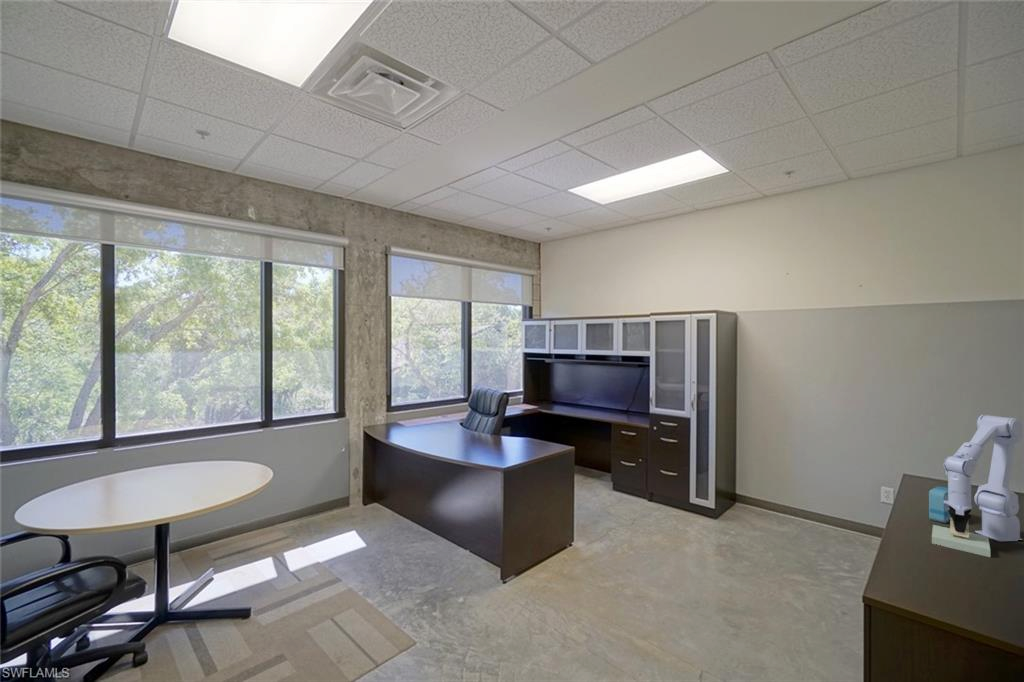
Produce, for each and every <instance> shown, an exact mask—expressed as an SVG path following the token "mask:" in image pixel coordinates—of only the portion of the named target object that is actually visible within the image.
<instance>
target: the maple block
mask: <svg viewBox="0 0 1024 682" xmlns="http://www.w3.org/2000/svg"><path fill="white" fill-rule="evenodd" d="M949 524H950V525H949V528H950V534H953V535H958V536H962V537H967V538H969V533H970V531H969V527H970V526H969V524H970V523H969V521H968V522H967V525H966V529H965V532H964V533H962V532H957V531H956V530H955V527H954V523H953V519H952V518H950V521H949Z"/></svg>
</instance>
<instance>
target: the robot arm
mask: <svg viewBox="0 0 1024 682" xmlns="http://www.w3.org/2000/svg"><path fill="white" fill-rule="evenodd" d="M976 427H977V430H976V431H975V433H974V434H973V436H972V438H971V439H970V441H968V442H967V441H966V442H963V443H962V445H960V447H959V448H958V449H957V451H956V452H955V453H954V454H952V455H950V456H947V457H945V459H944V462H943V464H942V465H943V468H944V470H945V475H946V477H947V488H948V501H946V500H944V503H945V504H948V505H949V508H950V510H949V509H948V512H949V514H950V515H951V517H952V519H953V523H954V527H955V530H956V531H957V532H962V533H964V532H965V529H966V525H967V522H968V523H969V520H970V519H971V518H972V514H970V513H971V512H972V509H973V505H972V476H973V475H974V474H975V473H976V471H977V469H976V468H977V466H978V464H977V462H979V460H980V459H981V458H982V456H983V455H984V454H985V450H984V448H985V447H986V445H988V443H989V442H991V441H993V443H994V444H993V450H992V454H991V455H992V456H991V462H990V469H989V473H988V480H987V483H985V484H981V485H979V486H978V487H977V490H976V493H975V495H974V496H973V498H974V499H973V500H974V503H975V505H976V506H977V507H978V509H979V510H980V511H981V530H974V533H975V534H979V535H984V536H988V539H992V540H995V541H997V542H1019V541H1018V540H1023V541H1024V539H1023V538H1021V522H1020V519H1019V517H1017V516H1016V514H1018V513H1019V510H1020V505H1019V495H1017V493H1015V492H1014V491H1013V490H1012V489H1011V488H1009V485H1010V478H1011V471H1012V464H1013V460H1014V454H1015V447H1016V443H1020V442H1021V440H1022V436H1023V429H1024V427H1023V424H1022V422H1021V421H1020V420H1019V419H1018V418H1016V417H1005V416H997V415H988V414H981V415H980V416H979V417H978V418H977V421H976Z"/></svg>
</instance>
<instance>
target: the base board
mask: <svg viewBox="0 0 1024 682" xmlns="http://www.w3.org/2000/svg"><path fill="white" fill-rule="evenodd" d="M989 540H990V538H989V537H988V536H984V535H981V534H978V533H975V532H974V533H973V532H969V538H967V537H962V536H958V535H953V534H950V527H945V526H940V525H935V524H933V525H932V533H931V544H933V545H936V544H937V546H940V545H941V547H945V548H950V549H953V550H958V551H961V552H966V553H970V554H975V555H979V556H983V557H988V558H991V546H990V541H989Z"/></svg>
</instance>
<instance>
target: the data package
mask: <svg viewBox="0 0 1024 682" xmlns="http://www.w3.org/2000/svg"><path fill="white" fill-rule="evenodd" d="M944 500H946V501H948V487H945V486H936V487H934V488H932V489H930V490H929V492H928V503H929V504H928V515H929V516H928V518H929V520H930V521H934V522H937V521H938V522H939V523H941V522H942V523H943V524H946V522H947V523H948V522H950V521H949V520H950V518H952V517H951V515H950V514H949V512H948V509H949V510H950V508H949V505H948V504H945V503H944Z"/></svg>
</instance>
